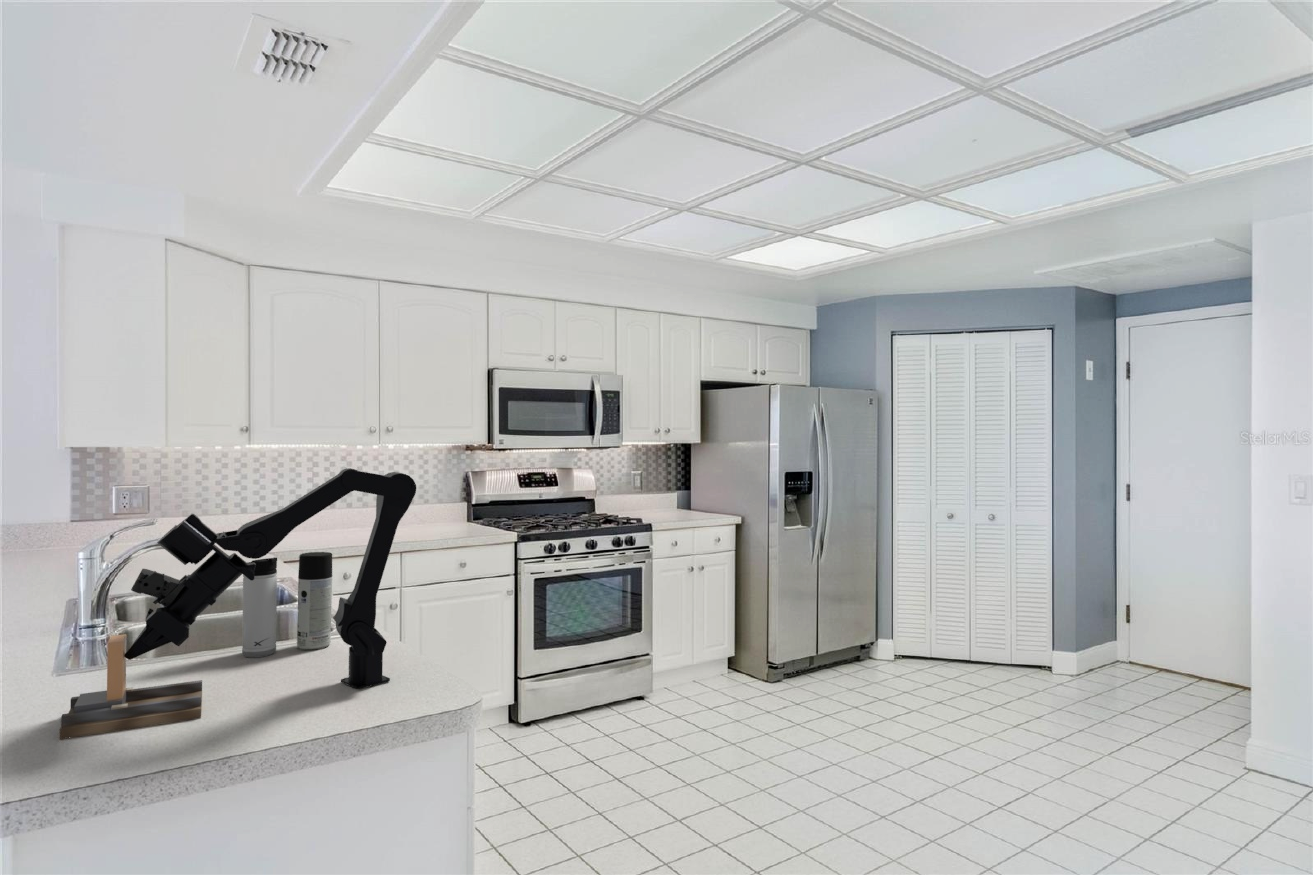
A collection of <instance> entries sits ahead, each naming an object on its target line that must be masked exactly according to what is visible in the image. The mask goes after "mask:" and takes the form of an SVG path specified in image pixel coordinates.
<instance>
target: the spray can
mask: <svg viewBox="0 0 1313 875" xmlns="http://www.w3.org/2000/svg"><path fill="white" fill-rule="evenodd" d="M298 558H299V559H298V576H297V577H298V580H297V582H298V583H297V586H298V588H297V590H298V591H297V622H296V623H297V626H296V630H297V631H296V632H297V633H296V646H297V649H298V650H301V651H317V650H322V649H326V648H328V647H329V646H330V645H331V640H332V639H331V638H332V635H331V634H332V603H333V602H332V599H333V596H332V595H333V553H332V552H329V551H328V552H327V551H314V552H313V551H309V552H304V553H300V554H299V557H298ZM327 646H328V647H327ZM325 647H326V648H325Z"/></svg>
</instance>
